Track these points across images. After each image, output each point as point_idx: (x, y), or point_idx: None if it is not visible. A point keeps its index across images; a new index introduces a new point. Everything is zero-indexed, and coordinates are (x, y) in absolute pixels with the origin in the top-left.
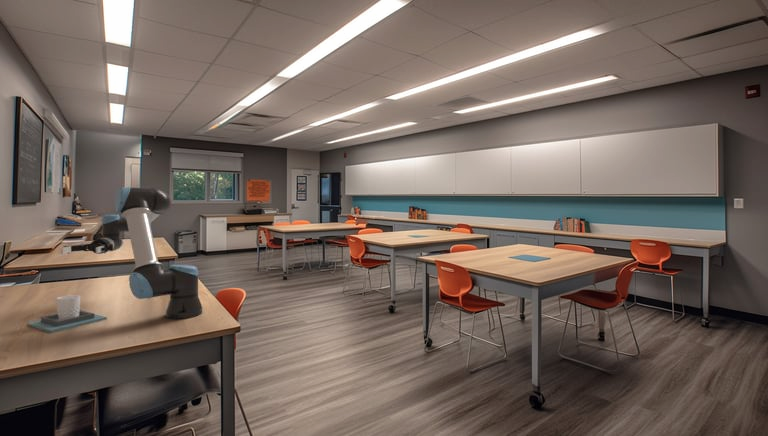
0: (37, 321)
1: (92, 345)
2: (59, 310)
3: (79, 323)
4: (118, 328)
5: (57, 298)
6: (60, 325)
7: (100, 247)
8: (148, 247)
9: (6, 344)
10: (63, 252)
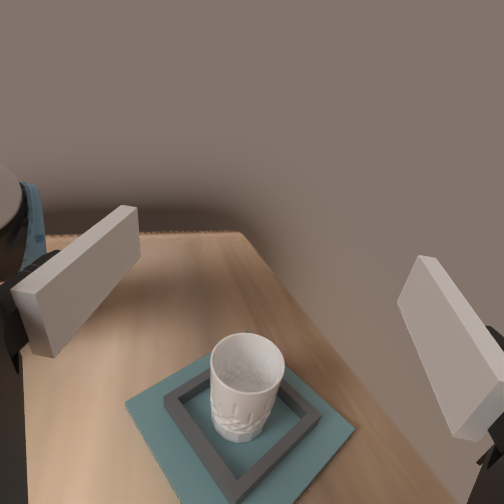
0: (333, 436)
1: (158, 254)
2: (262, 371)
3: (197, 361)
4: (108, 311)
5: (281, 358)
6: None
7: (89, 237)
8: None
9: (296, 301)
10: (403, 297)
